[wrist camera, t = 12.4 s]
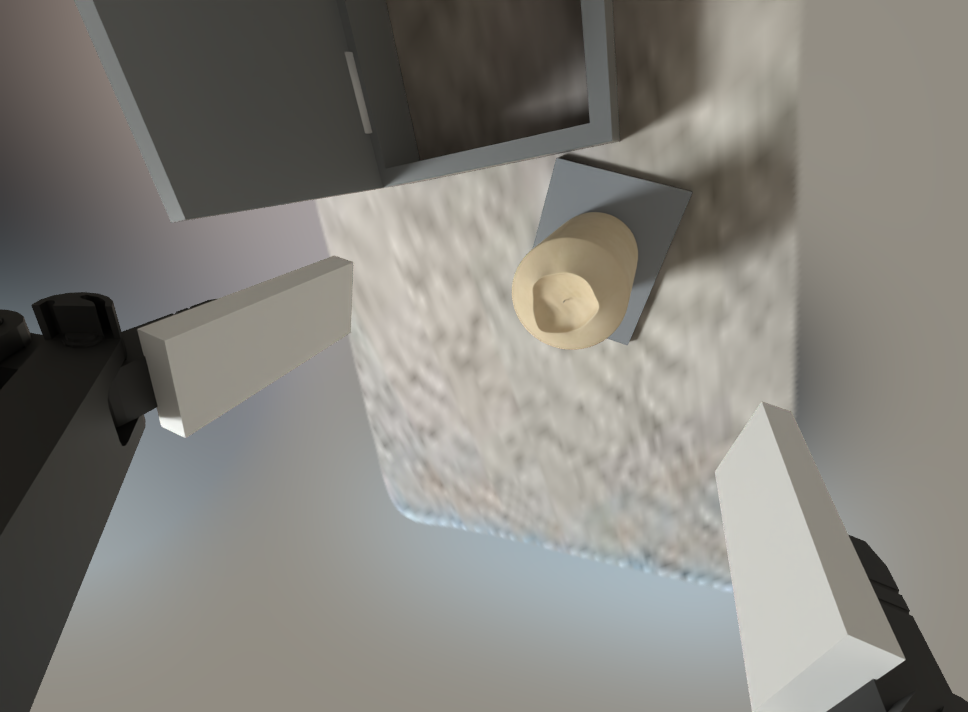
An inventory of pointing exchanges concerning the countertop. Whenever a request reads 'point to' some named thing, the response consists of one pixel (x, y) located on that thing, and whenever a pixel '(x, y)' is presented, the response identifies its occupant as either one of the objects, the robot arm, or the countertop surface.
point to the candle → (577, 282)
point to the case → (294, 100)
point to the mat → (631, 201)
